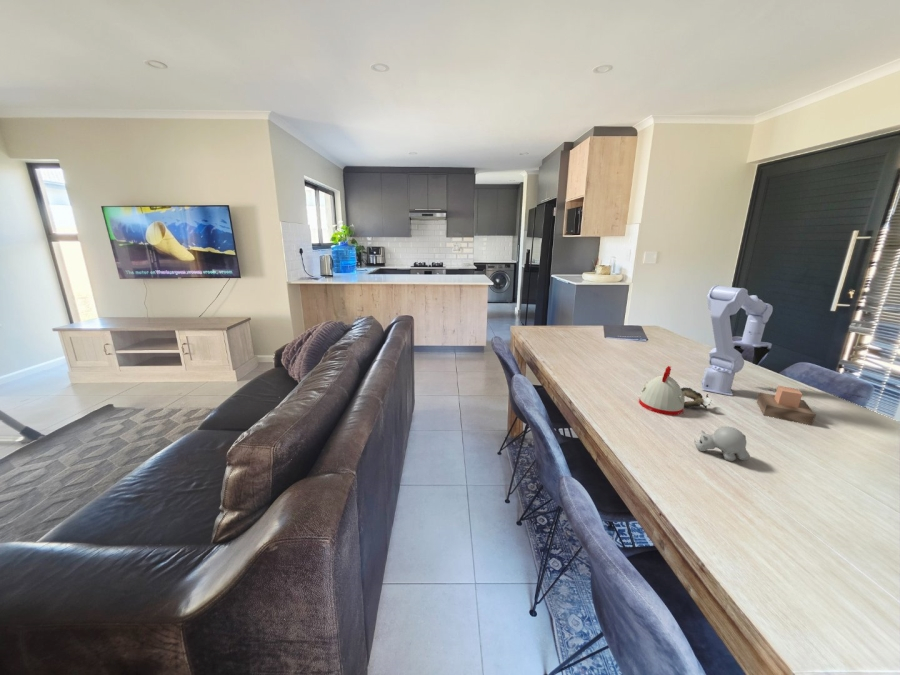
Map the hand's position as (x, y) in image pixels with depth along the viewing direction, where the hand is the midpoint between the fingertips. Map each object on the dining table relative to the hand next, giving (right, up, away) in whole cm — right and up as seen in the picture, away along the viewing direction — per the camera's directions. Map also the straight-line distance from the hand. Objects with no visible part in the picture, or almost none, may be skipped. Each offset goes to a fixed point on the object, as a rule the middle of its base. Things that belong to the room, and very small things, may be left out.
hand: (744, 363), depth 139 cm
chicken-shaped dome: (-45, -15, -16) cm, 50 cm away
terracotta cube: (-5, -12, -22) cm, 25 cm away
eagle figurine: (-33, -15, -16) cm, 40 cm away
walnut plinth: (-5, -16, -21) cm, 26 cm away
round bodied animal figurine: (-46, -23, -43) cm, 67 cm away
